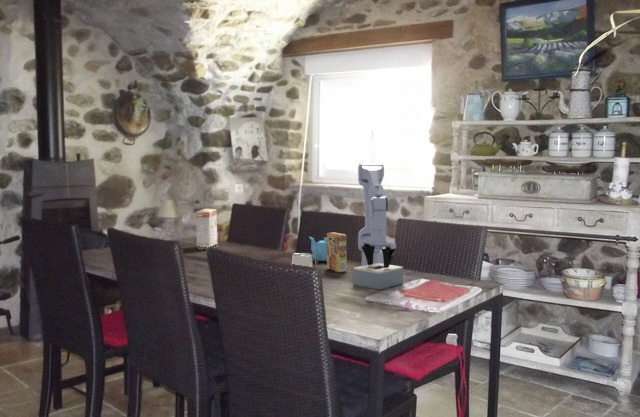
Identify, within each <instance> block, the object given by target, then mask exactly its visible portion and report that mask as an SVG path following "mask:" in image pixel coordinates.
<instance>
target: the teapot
mask: <svg viewBox="0 0 640 417" xmlns="http://www.w3.org/2000/svg"><path fill="white" fill-rule="evenodd" d="M308 238H309V239H310V241H311V245H310V249H311V252H312V253H311V254H312V256H313V257H314V258H315V259H316V260H317V262H319V261H326V262H325V263H327V237H324V238H323V240H319V241H318V242H317V241H315V238H314V237H312V236H309V237H308Z"/></svg>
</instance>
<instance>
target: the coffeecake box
mask: <svg viewBox="0 0 640 417" xmlns="http://www.w3.org/2000/svg"><path fill="white" fill-rule="evenodd" d="M217 211H218V210H217V208H203V209H200V210H197V211H195V223H196V224H195V225H196V227H195V228H196V229H195V230H196V233H195V234H196V247H197V246H200V247H207V248H208V247H210V246H213V245H215V244H217V245H218V223H217V220H218V219H217V218H218V217H217V216H218V215H217Z"/></svg>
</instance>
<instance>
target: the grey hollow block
mask: <svg viewBox="0 0 640 417" xmlns="http://www.w3.org/2000/svg"><path fill="white" fill-rule="evenodd" d="M352 272H353V273H352V274H353V275H352V278H353V281H352V283H353V284H352V285H353V286H356V287H360V288H366V289H371V290H376V291H381V290H385V289H389V288H393V287H397V286H402V285H403V284H404V266H399V265H394V264H389V267H388V268H384V264H382V263H374V264H373V265H364V266H362V265H361V266H356V267H353V269H352Z"/></svg>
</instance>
